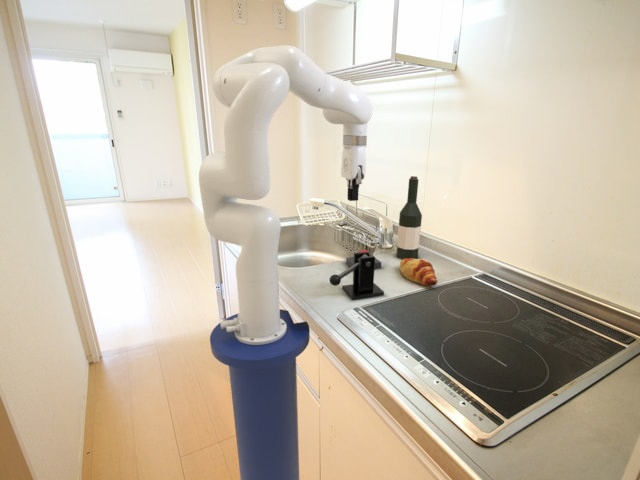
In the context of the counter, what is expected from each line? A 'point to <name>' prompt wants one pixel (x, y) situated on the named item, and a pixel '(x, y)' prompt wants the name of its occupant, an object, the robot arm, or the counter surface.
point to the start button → (363, 251)
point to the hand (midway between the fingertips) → (352, 200)
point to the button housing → (377, 263)
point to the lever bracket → (363, 279)
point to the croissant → (418, 271)
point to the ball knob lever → (344, 273)
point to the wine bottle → (409, 224)
